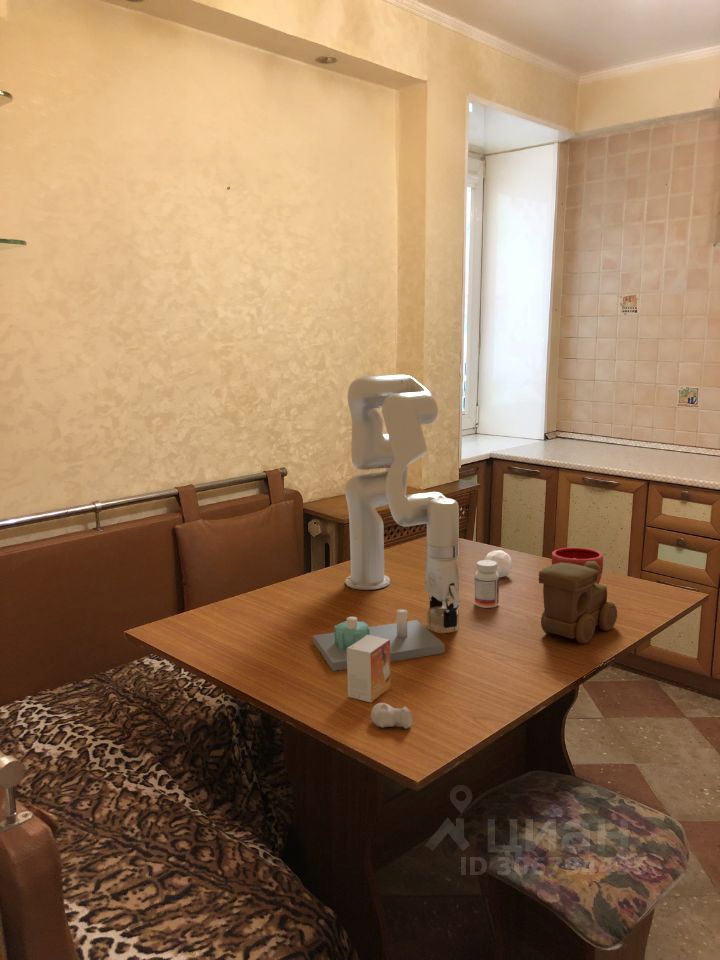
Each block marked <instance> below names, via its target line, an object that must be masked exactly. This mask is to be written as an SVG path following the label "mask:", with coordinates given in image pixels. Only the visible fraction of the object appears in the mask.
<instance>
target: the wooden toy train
mask: <svg viewBox="0 0 720 960" xmlns="http://www.w3.org/2000/svg"><path fill="white" fill-rule="evenodd" d="M601 571H602V572H603V570H601V568H600V567H599V565H598V564H597V562H595V561H587V562H586V563H585V565H584V566H580V565H576V564H570V563H557V564H553V565H552V564H551V565H548V566H546V567H544V568H542V569H541V570H540V571H538V583H539V584H543V586H542V588H543V589H542V590H543V591H542V596H543V607H544V610H543V612H542V614H541V617H540V625H541V628H542V631H543V632H544V633H546V634H548V635H550V634H554V635H555V634H556V635H559V636H562V637H565V638H569V639H575V640H576V641H577V642H578V643H579V644H582V645H584V644H588V643H589V642H590V641H591V640H592V638H593V636H594V633H595V631H596V626H597V625H598V627H600V630H602V631H603V632H604V631H605V632H607V631H610V630H611V629H613V628H614V626H615V625H616V622H617V619H618V608H617V606H616V604H615V603H614V602H612V601H608V589H607V588H608V587H607V586H605V585H603V584H601V583H599V584H597V583H596V582H598V577H599V575H600V573H601Z"/></svg>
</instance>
